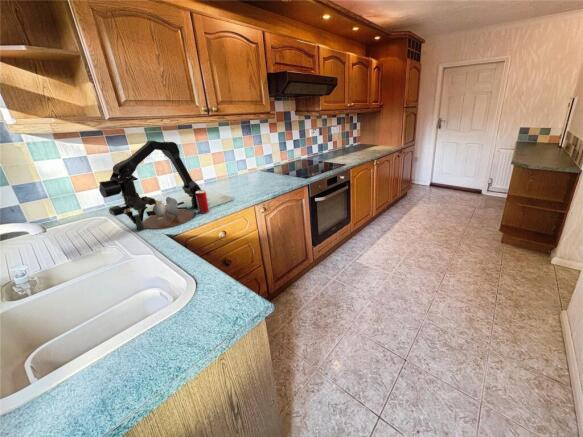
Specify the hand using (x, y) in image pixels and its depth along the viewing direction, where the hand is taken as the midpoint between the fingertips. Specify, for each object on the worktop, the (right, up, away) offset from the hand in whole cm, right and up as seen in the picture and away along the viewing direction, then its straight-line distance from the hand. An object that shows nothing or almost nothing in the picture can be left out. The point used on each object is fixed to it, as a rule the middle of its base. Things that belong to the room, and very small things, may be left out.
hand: (138, 222), depth 124 cm
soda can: (+25, +6, +20) cm, 32 cm away
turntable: (+8, +1, +11) cm, 13 cm away
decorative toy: (+9, +2, +12) cm, 15 cm away
